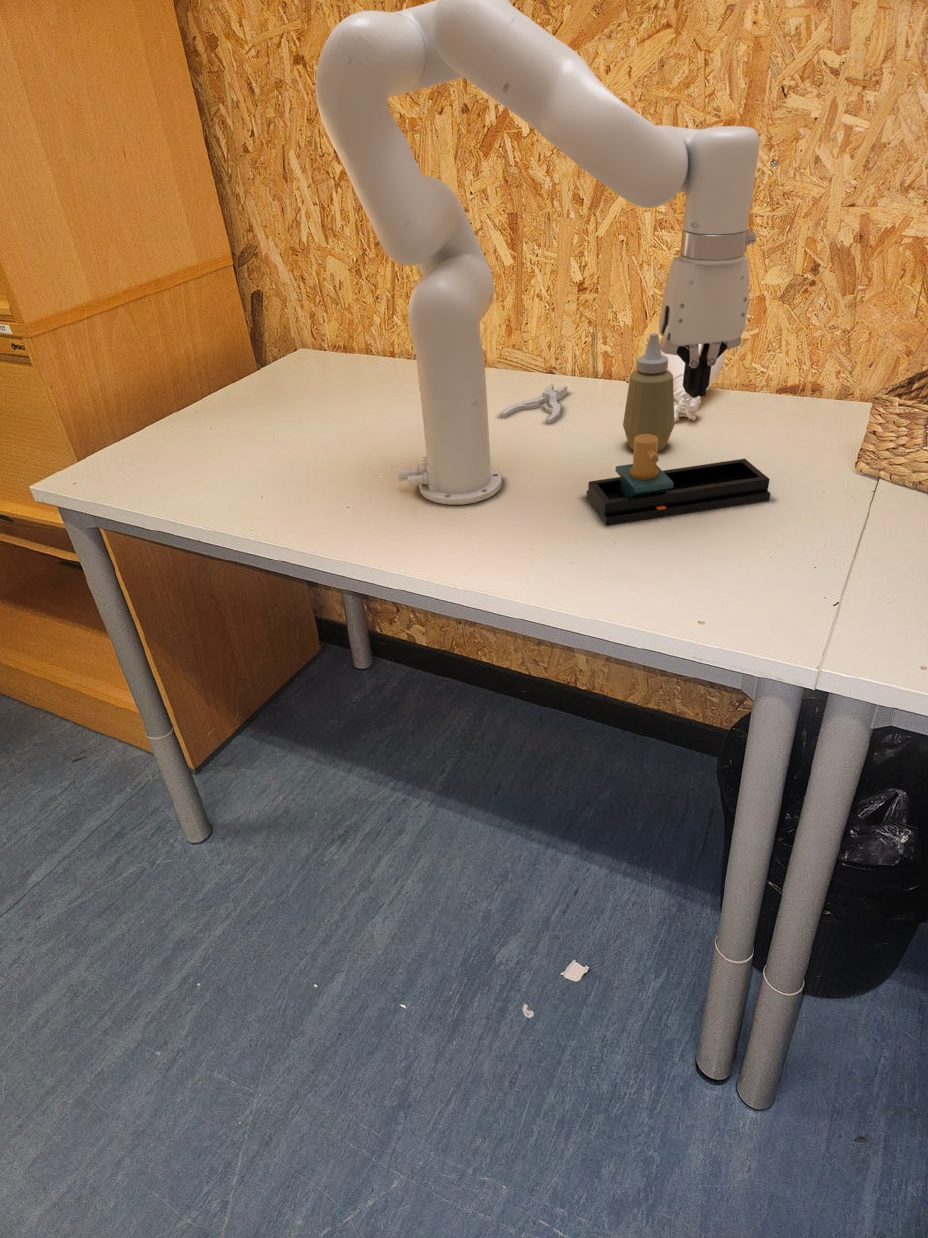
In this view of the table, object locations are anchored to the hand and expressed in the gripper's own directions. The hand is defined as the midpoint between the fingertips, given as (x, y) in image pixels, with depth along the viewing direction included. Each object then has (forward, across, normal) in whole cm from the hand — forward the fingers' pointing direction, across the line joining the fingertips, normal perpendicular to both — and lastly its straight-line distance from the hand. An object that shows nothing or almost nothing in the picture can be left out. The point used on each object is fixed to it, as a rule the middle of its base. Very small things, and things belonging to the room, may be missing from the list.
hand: (694, 393), depth 109 cm
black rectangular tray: (+15, +1, 0) cm, 15 cm away
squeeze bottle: (+16, -2, -18) cm, 24 cm away
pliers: (+16, +9, -42) cm, 46 cm away
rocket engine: (+15, -14, -35) cm, 40 cm away
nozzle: (+14, +6, +1) cm, 15 cm away
